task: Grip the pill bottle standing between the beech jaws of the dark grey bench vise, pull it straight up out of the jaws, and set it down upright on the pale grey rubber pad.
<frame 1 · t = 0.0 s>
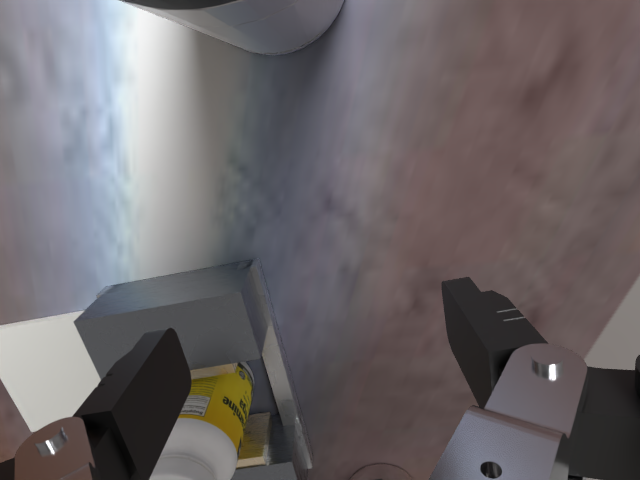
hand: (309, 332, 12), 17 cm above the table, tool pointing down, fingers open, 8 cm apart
placing pad: (66, 370, 34), on the table
bench vise: (218, 377, 34), on the table
pill bottle: (218, 375, 34), resting in bench vise
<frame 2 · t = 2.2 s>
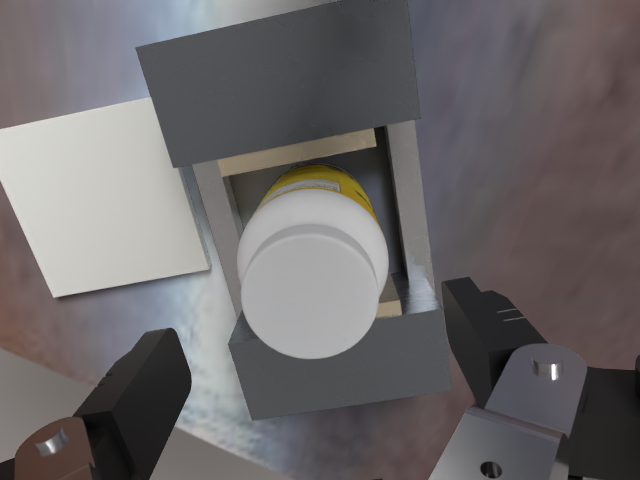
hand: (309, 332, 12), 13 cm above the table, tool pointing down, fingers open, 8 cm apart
placing pad: (105, 202, 24), on the table
bench vise: (317, 213, 24), on the table
pill bottle: (317, 212, 25), resting in bench vise
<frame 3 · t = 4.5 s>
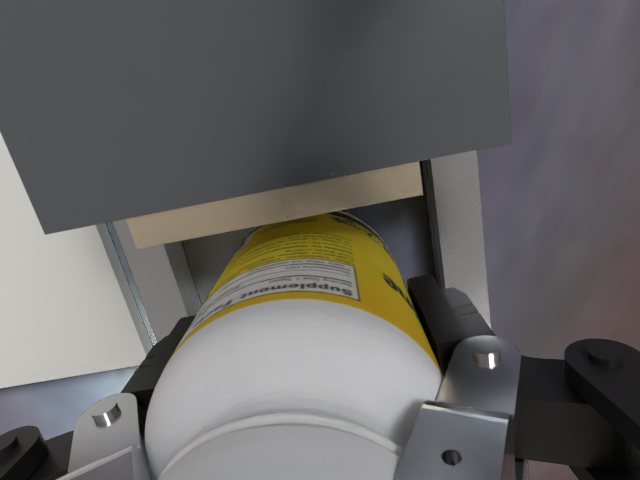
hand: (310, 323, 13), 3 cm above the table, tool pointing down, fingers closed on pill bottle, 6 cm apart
bench vise: (314, 280, 16), on the table
pill bottle: (314, 278, 16), resting in bench vise, touching gripper
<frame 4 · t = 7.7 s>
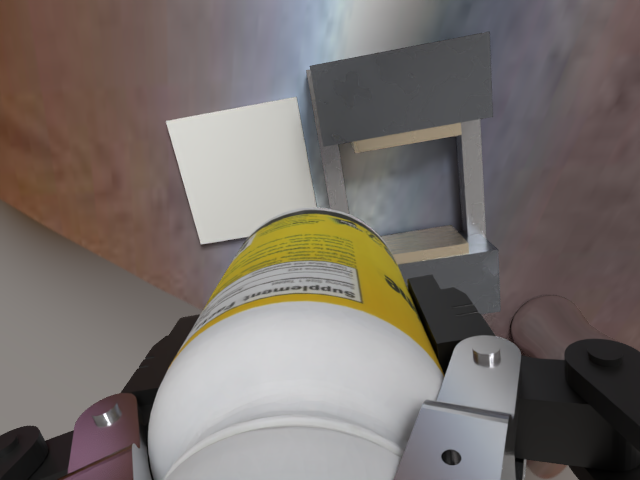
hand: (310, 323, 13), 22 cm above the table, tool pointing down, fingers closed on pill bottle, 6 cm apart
placing pad: (247, 173, 33), on the table
bench vise: (401, 185, 33), on the table
pill bottle: (316, 279, 16), point 18 cm above the table, touching gripper
beer glass: (543, 323, 37), on the table
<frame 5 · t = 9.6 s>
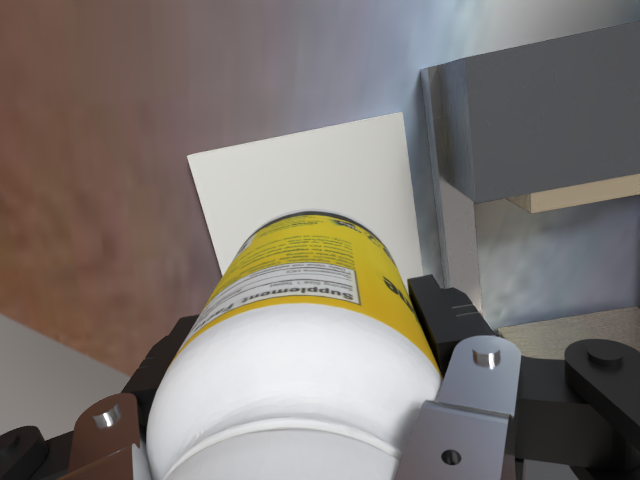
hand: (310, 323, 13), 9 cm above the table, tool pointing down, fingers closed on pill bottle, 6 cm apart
placing pad: (314, 233, 21), on the table
bench vise: (559, 246, 21), on the table
pill bottle: (315, 280, 16), point 5 cm above the table, touching gripper
when the fingers open (5 cm above the table, at t = 11.2 s): pill bottle drops 1 cm, resting on placing pad.
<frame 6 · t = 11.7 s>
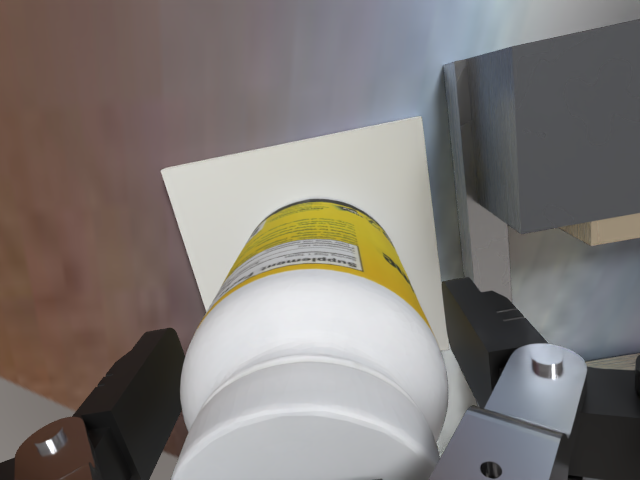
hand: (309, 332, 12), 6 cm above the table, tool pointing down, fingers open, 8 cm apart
placing pad: (315, 260, 18), on the table
bench vise: (606, 275, 18), on the table
pill bottle: (320, 264, 17), resting on placing pad
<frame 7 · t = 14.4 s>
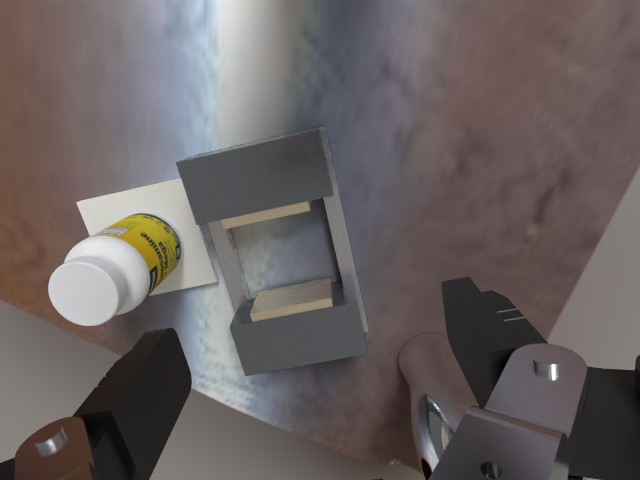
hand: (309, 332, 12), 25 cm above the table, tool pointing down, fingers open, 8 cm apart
placing pad: (151, 241, 39), on the table
bench vise: (284, 245, 38), on the table
pill bottle: (151, 242, 38), resting on placing pad
beer glass: (427, 357, 42), on the table
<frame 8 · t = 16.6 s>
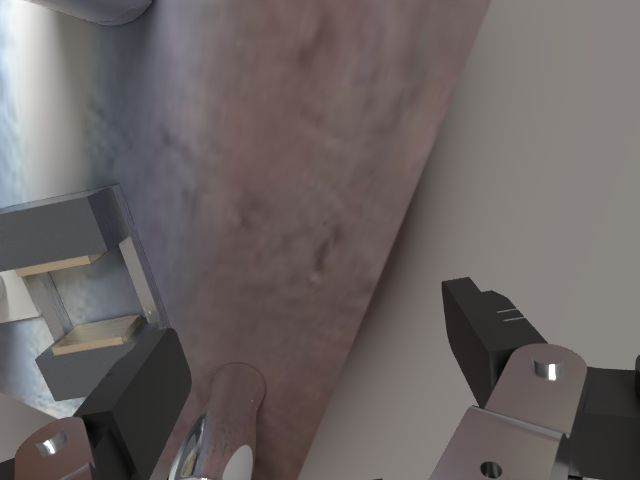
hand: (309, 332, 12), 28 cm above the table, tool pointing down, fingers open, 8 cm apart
bench vise: (98, 285, 43), on the table
beer glass: (239, 384, 47), on the table
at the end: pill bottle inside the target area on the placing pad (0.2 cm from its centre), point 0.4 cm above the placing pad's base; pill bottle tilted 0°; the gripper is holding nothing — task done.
